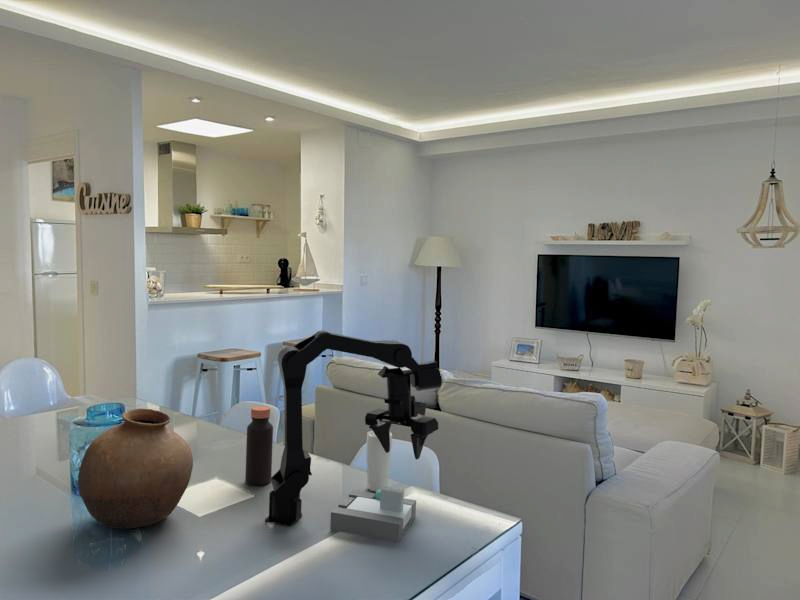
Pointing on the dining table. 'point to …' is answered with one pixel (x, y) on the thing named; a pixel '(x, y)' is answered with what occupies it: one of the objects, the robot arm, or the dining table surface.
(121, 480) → the pottery
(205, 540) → the dining table surface
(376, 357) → the robot arm
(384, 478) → the drinking glass
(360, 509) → the white stepped block
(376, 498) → the teal egg-shaped capsule
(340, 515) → the filter housing
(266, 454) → the bottle
